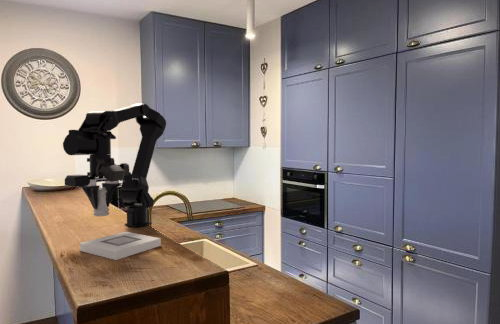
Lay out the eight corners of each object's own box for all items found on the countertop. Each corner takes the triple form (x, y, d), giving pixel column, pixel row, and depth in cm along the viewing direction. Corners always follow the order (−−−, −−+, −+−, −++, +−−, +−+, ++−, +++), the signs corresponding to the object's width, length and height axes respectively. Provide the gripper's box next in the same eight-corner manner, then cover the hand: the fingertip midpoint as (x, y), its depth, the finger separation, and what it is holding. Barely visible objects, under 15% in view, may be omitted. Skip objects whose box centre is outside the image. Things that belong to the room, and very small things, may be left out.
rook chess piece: (93, 214, 105) (92, 187, 104) (109, 213, 106) (108, 186, 106) (93, 217, 100) (92, 189, 100) (109, 215, 102) (109, 188, 102)
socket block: (125, 238, 101) (125, 231, 101) (160, 245, 94) (160, 237, 94) (79, 250, 89) (79, 242, 89) (115, 260, 82) (115, 251, 82)
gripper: (87, 155, 90) (88, 216, 91) (144, 154, 106) (145, 205, 107) (62, 155, 96) (64, 212, 97) (120, 153, 112) (121, 202, 113)
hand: (101, 208), depth 103 cm, fingers closed on rook chess piece, 3 cm apart
